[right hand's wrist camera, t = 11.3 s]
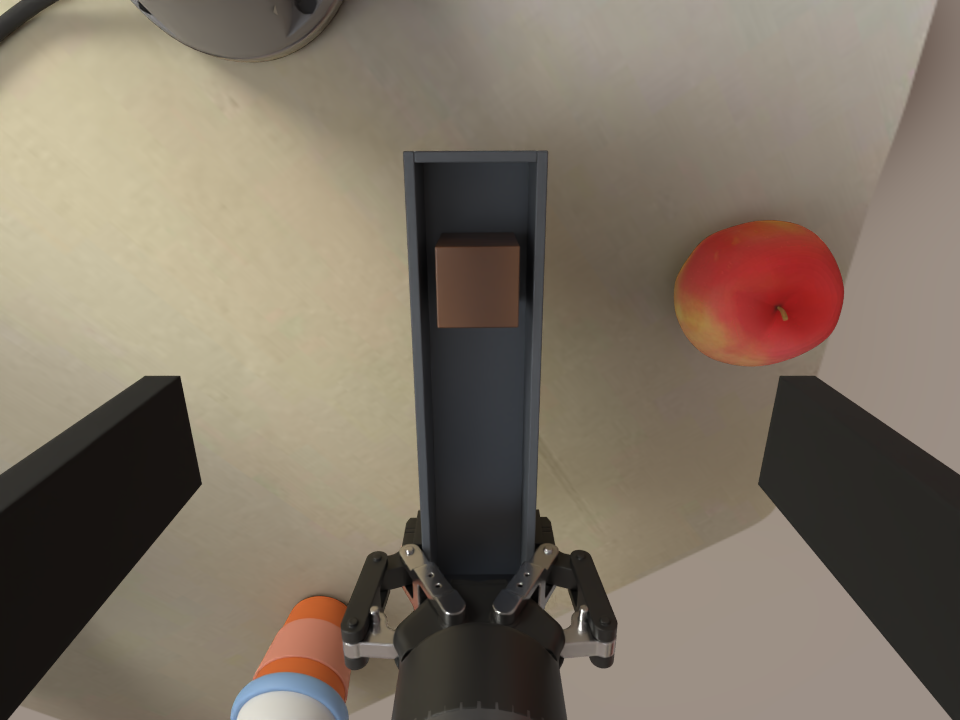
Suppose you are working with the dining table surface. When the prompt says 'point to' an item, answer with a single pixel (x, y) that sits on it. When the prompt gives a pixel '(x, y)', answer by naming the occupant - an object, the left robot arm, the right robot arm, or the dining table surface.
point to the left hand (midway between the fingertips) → (479, 521)
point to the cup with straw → (301, 669)
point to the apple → (759, 293)
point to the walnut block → (477, 280)
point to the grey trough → (476, 365)
